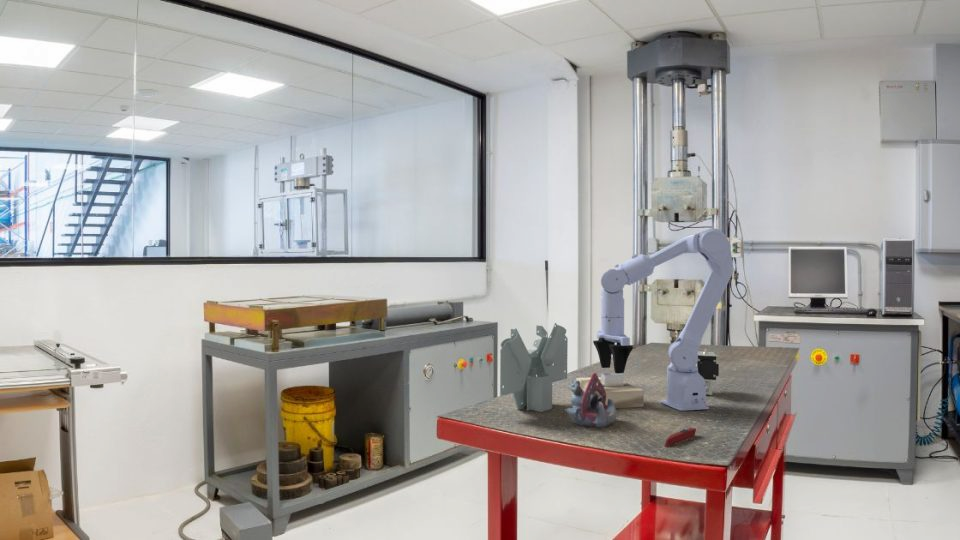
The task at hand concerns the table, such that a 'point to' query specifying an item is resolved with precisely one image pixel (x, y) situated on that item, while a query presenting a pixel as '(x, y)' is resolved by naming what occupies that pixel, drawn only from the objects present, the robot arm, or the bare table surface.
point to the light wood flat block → (619, 394)
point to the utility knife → (680, 436)
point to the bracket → (533, 368)
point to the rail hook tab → (612, 379)
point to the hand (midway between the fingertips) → (612, 370)
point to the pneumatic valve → (708, 368)
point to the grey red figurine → (591, 404)
